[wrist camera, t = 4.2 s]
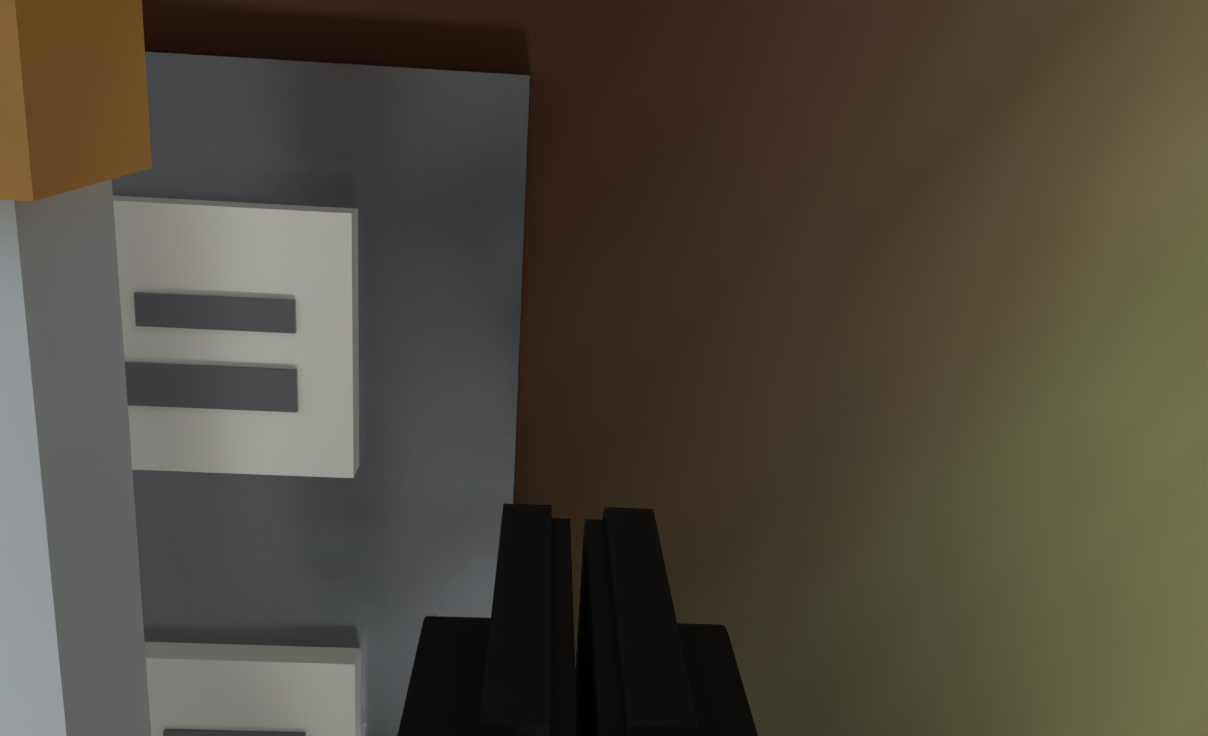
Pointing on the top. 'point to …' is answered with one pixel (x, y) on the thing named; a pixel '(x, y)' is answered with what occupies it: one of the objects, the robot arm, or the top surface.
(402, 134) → the board
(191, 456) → the label plate
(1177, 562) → the top surface
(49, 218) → the bar
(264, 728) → the label plate
